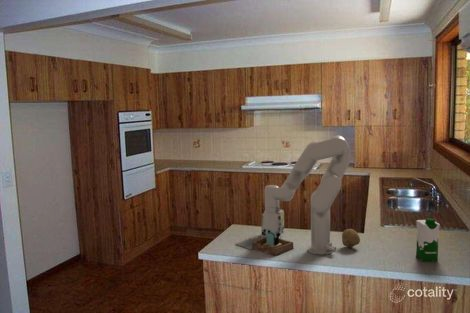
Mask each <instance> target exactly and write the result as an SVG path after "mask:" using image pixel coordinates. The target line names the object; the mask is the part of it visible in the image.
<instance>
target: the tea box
mask: <svg viewBox="0 0 470 313" xmlns="http://www.w3.org/2000/svg"><path fill="white" fill-rule="evenodd" d="M280 212H281V215H282V223H283V231H284V233H283V234H284V235H285V210H284V209H281V211H280ZM263 217H264V212H263V213H262V214H261V227H262V226H263ZM279 232H280V231H279ZM283 234H281V235H280V237H279V238H280V239H282V237H283V236H284V235H283ZM265 237H266V234H265V232H264V230H263V229H262V228H261V239H263V238H265Z"/></svg>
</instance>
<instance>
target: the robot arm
mask: <svg viewBox="0 0 470 313" xmlns="http://www.w3.org/2000/svg"><path fill="white" fill-rule="evenodd" d="M329 158H331V160H330V161H329V164H328V165H327V166H328V167H327V168H326V170H325V171H324V173H323V175H322V176H321V179H320V183H319V185H318V187H317V189H315V190H314V191H313V192H312V193H311V196H310V245H309V246H308V248H307V250H308V253H311V254H312V255H313V254H314V255H319V256H321V255H322V256H324V255H325V256H326V255H331V254H333V253H336V250H337V246H333V243H332V242H331V207H332V205H333V204H334V202H335V199H336V198H337V196H338V194H339V193H340V190H341V188H342V179H343V177H344V175H345V174H346V171H347V169H348V167H349V165H350V162H351V158H352V154H351V147H350V145H349V143H348V141H347V139H345V137H343V136H342V135H339V134H338V135H334V136H332V137H331V138H329V139H325V140H322V141H311V142H309V143H308V144H307V145H306V147H305V148H304V150H303V151H302V153H301V154H300V156H299V158H298V159H297V161H296V162H295V163H294V166H293V167H292V170H290V173H289V174H288V176H287V177H286V178H285V181H284V182H283V184H282V185H281V187H280V186H278V185H276V184H268V185H265V187H264V211H263V213H264V217H263V226H262V225H261V230H262V229H263V230H264V232H265V234H266V233H268V232H271V231H273V232H274V235H275V237H274V245H277V244H279V237H280V235H281V234H283V233H284V234H285V230H284V231H283V223H282V215H281V212H280V211H281V210H282V209H281V208H280V201H282V202H289V201H291V200H292V199H293V198H294V196H295V193H296V191H297V189H298V188H299V186H300V185H301V183H302V182H303V181H304V180H305V179H306V178H307V177H308V176H309V175H310V173H311V172H312V171H313V169H314V168H315V166H316V164H317V163H318V161H321V160H325V159H329ZM279 231H280V232H279ZM266 238H267V235H266Z"/></svg>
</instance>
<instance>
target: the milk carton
mask: <svg viewBox="0 0 470 313" xmlns="http://www.w3.org/2000/svg"><path fill="white" fill-rule="evenodd" d="M415 222H416V254H415V257H417V258H418V259H419V260H421V262H438V261H439V234H440V233H439V232H440V226H441V224H440V223H438V222H437V221H436V219H435V218H433V217H426V218H425V219H417V220H416V221H415Z"/></svg>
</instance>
